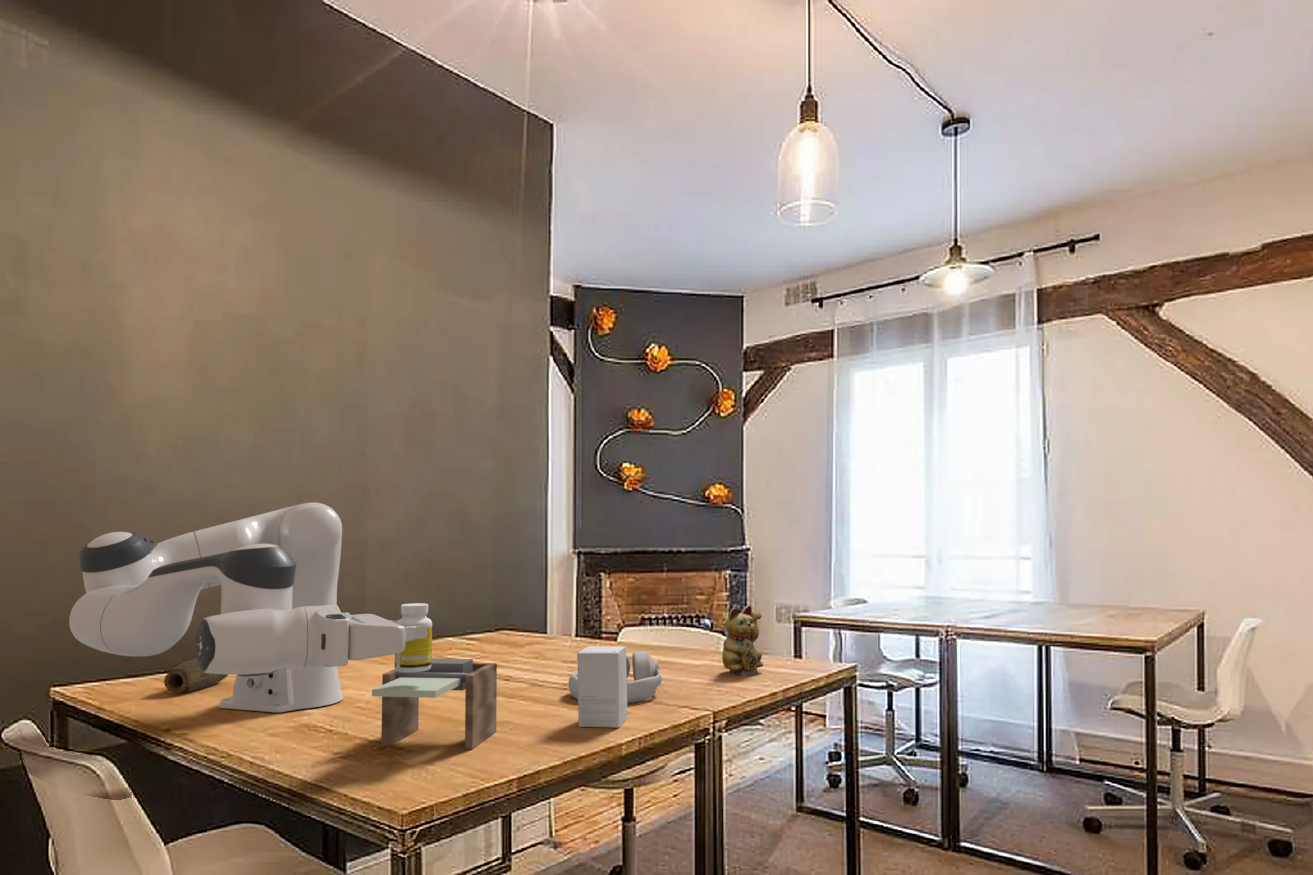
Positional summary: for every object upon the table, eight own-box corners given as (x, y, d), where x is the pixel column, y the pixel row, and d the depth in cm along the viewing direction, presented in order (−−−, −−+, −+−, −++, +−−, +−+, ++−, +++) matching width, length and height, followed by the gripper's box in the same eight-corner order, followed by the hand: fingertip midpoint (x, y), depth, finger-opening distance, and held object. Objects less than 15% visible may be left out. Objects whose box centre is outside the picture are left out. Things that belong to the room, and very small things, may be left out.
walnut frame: (411, 729, 146) (412, 662, 147) (496, 731, 143) (496, 663, 144) (381, 746, 135) (382, 674, 136) (472, 749, 132) (472, 675, 133)
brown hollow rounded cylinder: (202, 682, 191) (203, 651, 191) (232, 682, 191) (233, 651, 191) (159, 696, 176) (161, 663, 177) (192, 696, 176) (193, 663, 176)
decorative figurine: (738, 678, 187) (737, 608, 189) (712, 673, 194) (711, 606, 195) (768, 672, 194) (766, 605, 195) (741, 667, 200) (740, 602, 201)
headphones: (594, 679, 185) (556, 713, 166) (592, 643, 185) (554, 673, 166) (676, 683, 180) (646, 718, 161) (674, 646, 179) (644, 677, 160)
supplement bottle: (438, 669, 130) (440, 604, 131) (407, 674, 126) (408, 607, 127) (418, 665, 134) (420, 601, 134) (387, 670, 130) (389, 604, 130)
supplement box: (628, 718, 152) (627, 645, 153) (619, 728, 144) (618, 652, 146) (588, 717, 153) (587, 645, 154) (576, 727, 146) (576, 651, 147)
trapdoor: (413, 683, 143) (413, 658, 143) (480, 685, 141) (480, 659, 141) (366, 705, 127) (366, 676, 127) (441, 707, 125) (441, 677, 126)
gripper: (311, 649, 132) (401, 641, 139) (337, 668, 115) (439, 659, 122) (312, 607, 133) (402, 602, 140) (338, 621, 115) (440, 614, 123)
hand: (420, 629), depth 131 cm, fingers closed on supplement bottle, 5 cm apart
